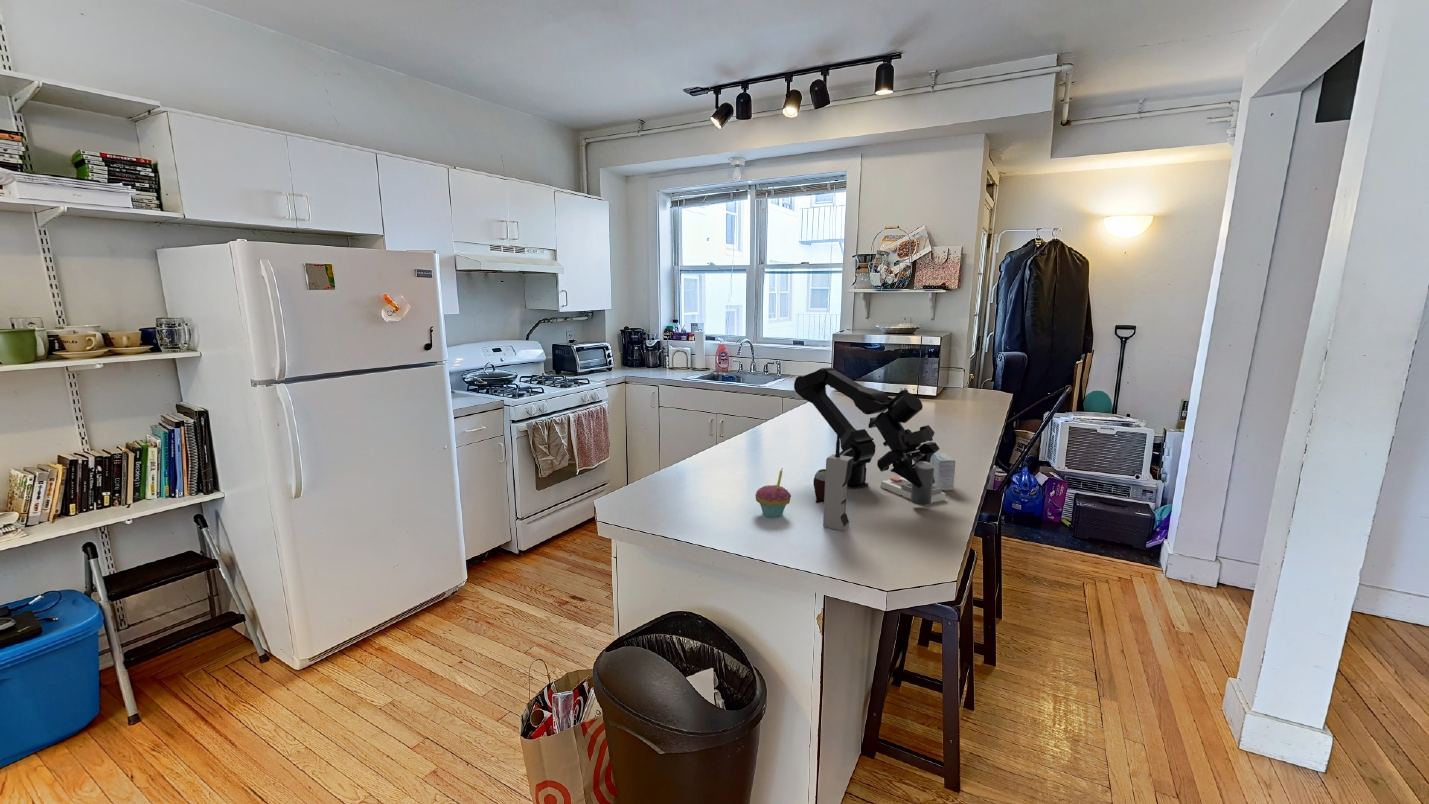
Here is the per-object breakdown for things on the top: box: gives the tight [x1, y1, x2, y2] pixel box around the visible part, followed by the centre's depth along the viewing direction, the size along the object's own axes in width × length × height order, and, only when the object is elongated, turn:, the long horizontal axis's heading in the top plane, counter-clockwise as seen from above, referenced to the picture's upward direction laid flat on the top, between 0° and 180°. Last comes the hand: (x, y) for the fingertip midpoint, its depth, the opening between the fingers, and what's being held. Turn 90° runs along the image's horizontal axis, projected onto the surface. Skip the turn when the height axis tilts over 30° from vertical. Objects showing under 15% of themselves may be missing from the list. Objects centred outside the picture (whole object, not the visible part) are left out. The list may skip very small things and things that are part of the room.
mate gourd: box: [813, 448, 852, 504], centre depth 146 cm, size 8×8×15 cm
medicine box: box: [930, 452, 956, 491], centre depth 160 cm, size 8×4×9 cm, turn 179°
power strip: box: [880, 476, 946, 504], centre depth 154 cm, size 8×15×3 cm, turn 28°
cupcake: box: [754, 467, 792, 519], centre depth 138 cm, size 9×8×12 cm
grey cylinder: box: [910, 461, 934, 506], centre depth 143 cm, size 5×5×10 cm
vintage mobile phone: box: [822, 421, 853, 532], centre depth 129 cm, size 4×5×25 cm
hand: (927, 485), depth 142 cm, fingers closed on grey cylinder, 5 cm apart
